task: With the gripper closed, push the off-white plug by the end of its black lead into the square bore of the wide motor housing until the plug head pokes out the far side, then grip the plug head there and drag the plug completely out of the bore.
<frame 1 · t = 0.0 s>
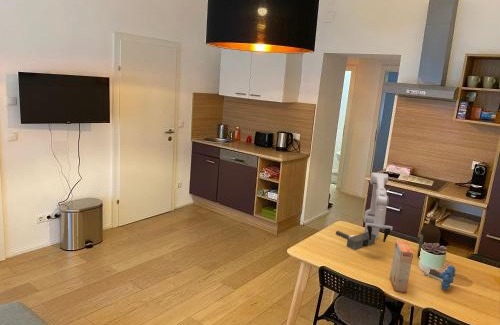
hand: (376, 240, 215), 11 cm above the table, tool pointing down, fingers open, 7 cm apart
cracker box: (397, 285, 189), on the table
plug: (345, 238, 243), on the table
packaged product: (439, 274, 205), on the table
grapes: (444, 287, 190), on the table
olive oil: (425, 258, 223), on the table
housing: (360, 244, 234), on the table
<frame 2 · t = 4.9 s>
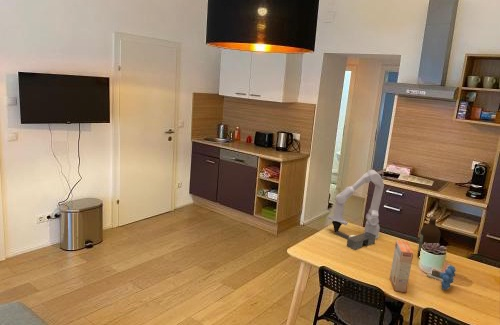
hand: (336, 232, 249), 1 cm above the table, tool pointing down, fingers closed
plug: (346, 238, 243), on the table, touching gripper
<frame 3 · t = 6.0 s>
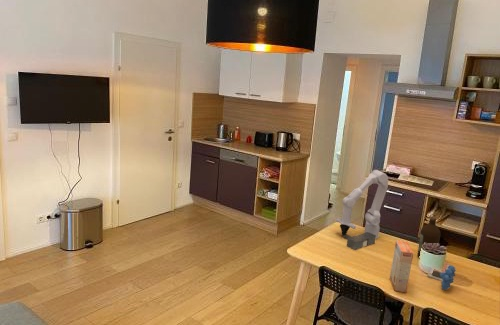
hand: (343, 235, 244), 1 cm above the table, tool pointing down, fingers closed
plug: (354, 241, 238), on the table, touching gripper
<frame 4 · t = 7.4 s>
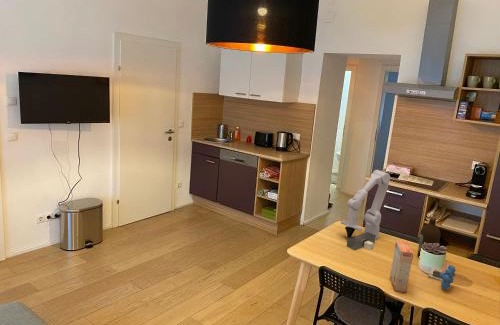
hand: (349, 238, 241), 1 cm above the table, tool pointing down, fingers closed
plug: (360, 244, 235), on the table, touching gripper
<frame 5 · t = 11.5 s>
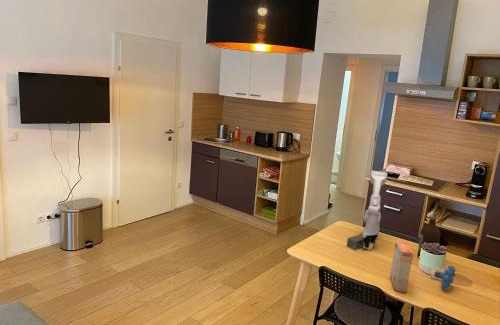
hand: (368, 246, 230), 1 cm above the table, tool pointing down, fingers closed on plug, 4 cm apart
plug: (360, 244, 235), on the table, touching gripper
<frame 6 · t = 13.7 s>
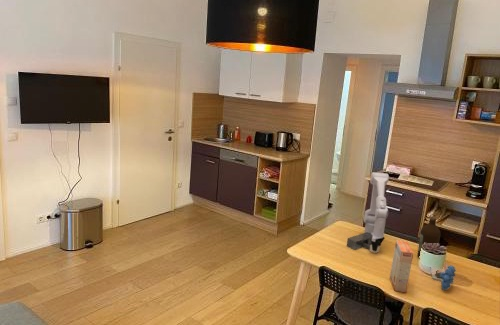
hand: (375, 249, 226), 1 cm above the table, tool pointing down, fingers closed on plug, 4 cm apart
plug: (365, 247, 230), on the table, touching gripper
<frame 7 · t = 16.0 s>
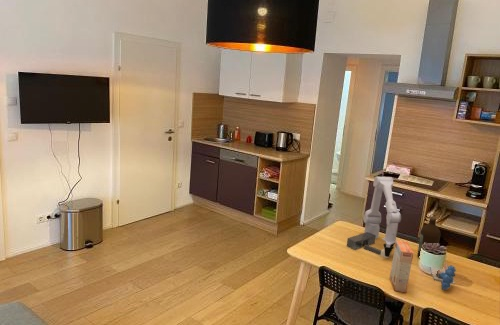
hand: (387, 254, 220), 1 cm above the table, tool pointing down, fingers closed on plug, 5 cm apart
plug: (376, 252, 224), on the table, touching gripper
when the fingers open (1 cm above the table, at t = 16.0 s): plug stays where it is, on the table.
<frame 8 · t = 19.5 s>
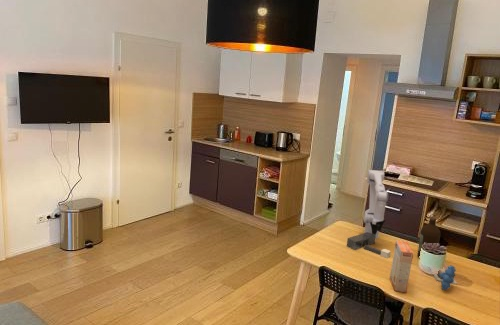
hand: (376, 232, 231), 9 cm above the table, tool pointing down, fingers open, 7 cm apart
plug: (376, 252, 224), on the table
at the end: plug inside the target area (4.8 cm from its centre), on the table; plug touching table; the gripper is holding nothing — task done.
